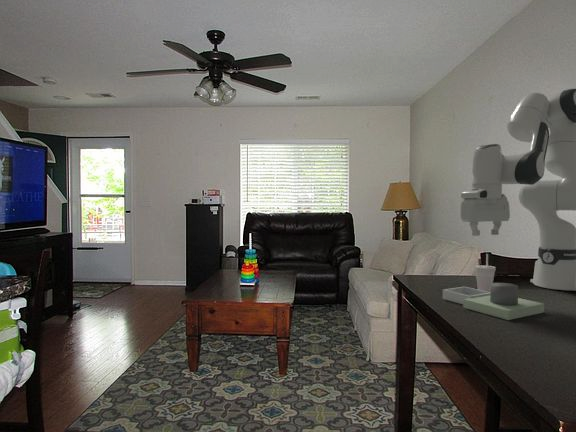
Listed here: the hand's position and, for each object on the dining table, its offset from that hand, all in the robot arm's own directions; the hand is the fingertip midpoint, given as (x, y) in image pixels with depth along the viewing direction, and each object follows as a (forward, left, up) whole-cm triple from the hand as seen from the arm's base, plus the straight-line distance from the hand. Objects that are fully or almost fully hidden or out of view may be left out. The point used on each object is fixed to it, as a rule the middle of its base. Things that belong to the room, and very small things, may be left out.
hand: (485, 235), depth 133 cm
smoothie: (0, 0, -20) cm, 20 cm away
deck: (+11, +9, -20) cm, 25 cm away
